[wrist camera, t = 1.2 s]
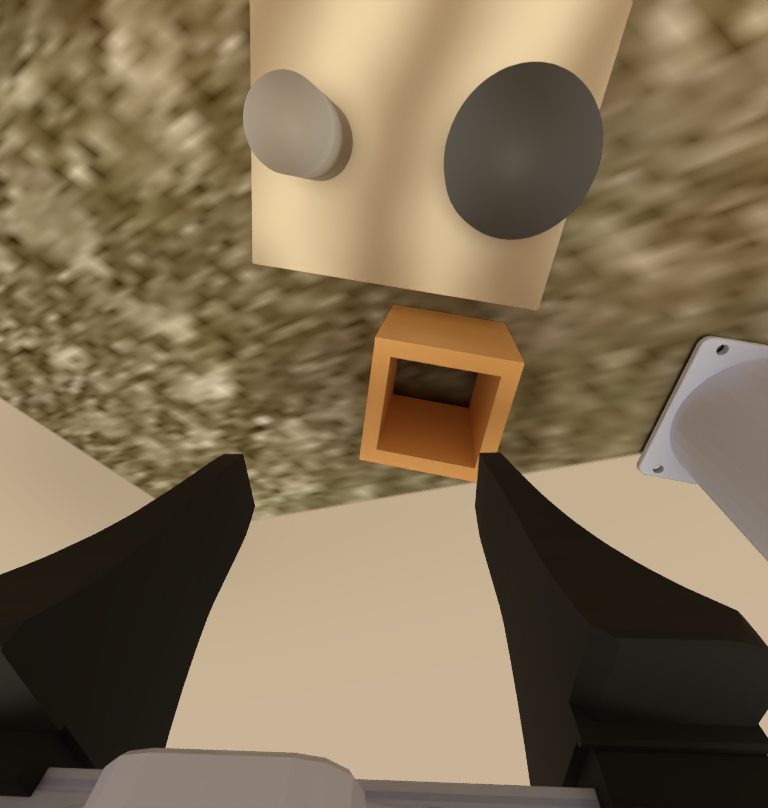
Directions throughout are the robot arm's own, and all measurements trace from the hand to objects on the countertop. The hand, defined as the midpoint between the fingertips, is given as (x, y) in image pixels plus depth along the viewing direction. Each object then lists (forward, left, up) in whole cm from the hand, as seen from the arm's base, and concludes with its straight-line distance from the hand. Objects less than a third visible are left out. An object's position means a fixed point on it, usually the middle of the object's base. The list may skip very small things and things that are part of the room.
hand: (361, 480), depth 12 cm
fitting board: (+1, -9, -11) cm, 15 cm away
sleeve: (-2, 0, -11) cm, 11 cm away
